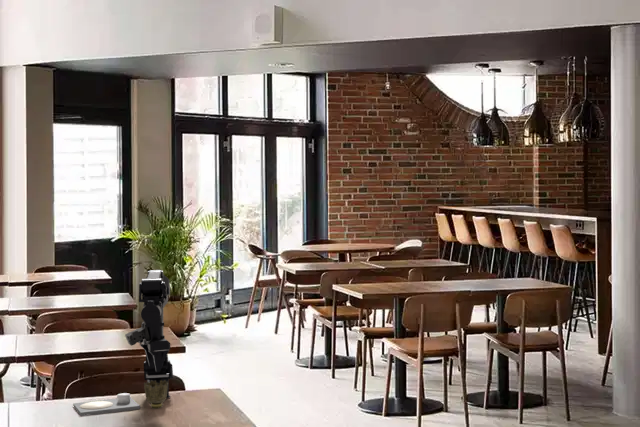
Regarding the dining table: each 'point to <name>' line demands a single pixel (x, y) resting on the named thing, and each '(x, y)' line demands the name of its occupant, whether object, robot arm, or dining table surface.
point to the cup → (156, 393)
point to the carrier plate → (107, 405)
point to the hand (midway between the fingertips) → (154, 369)
